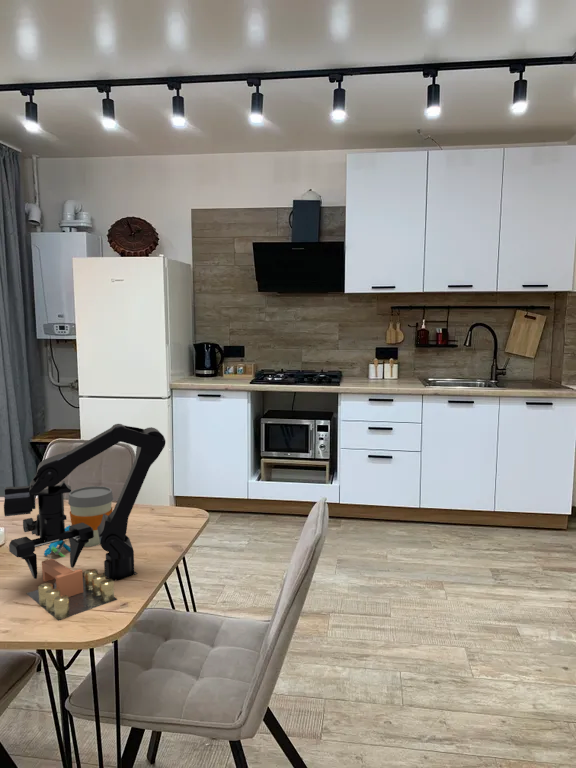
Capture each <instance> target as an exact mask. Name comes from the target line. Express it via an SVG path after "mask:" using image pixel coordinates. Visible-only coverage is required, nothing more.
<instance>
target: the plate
mask: <svg viewBox="0 0 576 768" xmlns="http://www.w3.org/2000/svg"><path fill="white" fill-rule="evenodd" d="M104 574H105V573H104ZM104 574H103V573H100V574H99V572H98V570H97V569H95V568H93V569H92V568H91V569H87V570H85V571H84V575H83V591H84V592H83V593H80V594H76V595H73V596H70V597H68V596H67V595H60V590H59V589H54V583H52V582H45V583H41V584H39V585H38V587H37V588H38V589H36V590H33V591H29V592H26V593H25V594H26V595H28V597H30V599H32V600H33V601H35V602H36V603H37V604H38V605H39V606H40V607H42V609H44V610H45V611H46V612H47V613H49V614H50V615H51V616H52V617H53V618H54V619H55V620H57V621H58V622H59V621H61V620H64V619H68V618H70V617H73V616H76V615H78V614H81V613H84V612H87V611H89V610H92V609H95V608H98V607H101V606H103V605H106V604H109V603H113V602H115V601H118V598H117V597H115V581H113V580H112V579H109V578H108V579H106V578H107V577H106V576H105V575H104Z"/></svg>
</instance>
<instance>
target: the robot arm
mask: <svg viewBox="0 0 576 768" xmlns="http://www.w3.org/2000/svg"><path fill="white" fill-rule="evenodd" d="M120 442H121V443H126V444H128V445H130V446H131V445H132V446H134V447H136V449H135V457H134V460H133V463H132V466H131V468H130V470H129V472H128V475H127V478H126V480H125V483H124V484H123V487H122V489H121V491H120V494H119V496H118V498H117V501H116V504H115V506H114V508H113V509H112V512H111V514H110V515H109V516H107V515H105V514H103V517H102V521H101V524H100V525H99V526H98V527H97V529H98V535H99V540H100V546H101V549H103V551H105V552H107V553H105V560H104V561H103V564H104V566H103V567H104V572H103V573H102V574H104V575H105V578H108V579H111V580H113V581H114V582H119V581H121V580H123V579H127V578H129V577H132V576H136V575H138V572H136V571H135V554H134V553H135V550H134V548H133V547H134V546H133V544H132V542H131V539H130V537H129V536H127V535H126V534H127V530H128V524H129V518H130V515H131V513H132V510H133V507H134V505H135V503H136V501H137V498H138V496H139V494H140V491H141V488H142V486H143V484H144V481H145V479H146V478H147V475H148V472H149V471H150V468H151V466H152V465H153V464H154V463H155V462H156V461H157V459H158V458H159V456H160V455H161V454H162V452H163V451H164V448H165V447H166V439H165V436H164V435H163V433H161V432H160V430H158V428H156V427H151V426H150V427H146V428H140V427H136V426H128V425H124V424H122V423H115V424H113V425H112V426H111V427H110V428H108V429H107V430H104V431H103V432H101V433H99V434H97V435H96V436H95V437H93V438H90V439H89V440H87V441H85V442H83V443H82V444H80V445H78V446H76V447H74V448H73V449H71V450H68V451H65V452H63V453H58V454H56V455H52V456H50V457H47V458H44V459H43V460H42V461H40V462H39V464H38V465H37V470H36V474H35V476H34V478H33V479H31V480H30V482H29V485H23V486H6V487H5V488H4V502H3V513H4V514H3V515H4V517H11V516H12V517H15V516H22V515H31V512H33V511H34V510H36V496H37V499H38V500H37V502H38V503H37V504H38V505H37V506H38V514H36V520H34V519H33V517H29V518H24V519H23V520H22V529H23V532H24V533H29V532H31V535H32V536H33V535H34V536H36V537H37V538H35V539H33V538H32V539H31V538H29V537H27V536H21V537H19V538H14V539H11V540H10V542H9V544H8V548H9V549H8V550H9V553H11V554H12V555H13V556H15V557H16V558H21V559H22V560H24V561H25V562H26V565H27V567H28V569H29V570H30V573H31V575H32V578H33V579H35V580H37V578H38V561H37V559H38V558H37V553H35V551H36V548H38V547H42V546H47V545H50V544H51V543H54V542H58V541H62V540H63V541H65V540H68V542H69V547H70V552H69V565H70V569H71V568H72V569H74V568H75V566H76V563H77V561H78V560H79V556H80V554H81V552H82V550H83V549H84V548H85V547H84V545H85V544H86V543H88V542H89V540H88V539H91V538H93V537H94V531H93V528H92V527H90V526H88V525H87V524H85V523H79V524H75V525H72V524H70V527H69V531H65V528H66V527H65V526H66V525H65V523H66V522H65V521H66V520H67V515H66V514H65V502H64V501H65V500H64V499H65V498H64V497H65V496H64V494H69V493H70V492H71V491H72V486H71V485H69V484H67V482H66V481H65V480H64V479H65V478H67V477H68V476H69V475H70V474H71V473H72V472H73V471H74V470H75V469H76V468H77V467H79V466H81V465H82V464H84V463H85V462H88V461H89V460H91V459H92V458H94V457H96V456H98V455H100V454H101V453H103V452H105V451H106V450H109V449H110V448H112V447H113V446H115V445H117V444H119V443H120ZM60 482H61V483H60ZM59 483H60V484H59Z"/></svg>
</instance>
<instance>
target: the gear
mask: <svg viewBox="0 0 576 768" xmlns="http://www.w3.org/2000/svg"><path fill="white" fill-rule="evenodd" d="M70 526H71V524H68V526H66V527H65V531H69V527H70ZM57 547H58V548H57ZM62 548H64V549H65V550H66V551H68V552H69V553H70V545H67V544H66V541H65V540H62V541H58V542H54V543H50V544H48V547H47V548H46V549H45V550H44V553H43V555H44V556H45V557H47V556H49V555H50V554H51V553H52V552H53V553H54V555H55V556H56V555H59V556H60V557H61V558H66V555H65V554H63V553H62V552H61V551H62Z"/></svg>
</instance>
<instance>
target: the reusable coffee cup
mask: <svg viewBox="0 0 576 768" xmlns="http://www.w3.org/2000/svg"><path fill="white" fill-rule="evenodd" d="M113 500H114V497H113V489H112V488H111V487H108V486H103V485H102V486H99V485H97V486H96V485H94V486H84V487H80V488H75V489H73V490H71V492H70V493H68V500H67V502H68V503H67V504H68V505H69V508H70V510H69V517H70V522H71V525H75V524H79V523H85V524H87V525H88V526H90V527H92V528H93V531H94V537H93V538H91V539H88V540H89V542H88V543H86V544H85V545H84V547H83V548H85V547H96V546H99V545H100V546H101V544H100V540H99V535H98V529H97V527H98V526H99V525H100V524H101V521H102V517H103V514H105V515H107V516H109V515H110V514H111V512H112V511H113V507H112V504H113V503H112V502H113Z"/></svg>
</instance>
